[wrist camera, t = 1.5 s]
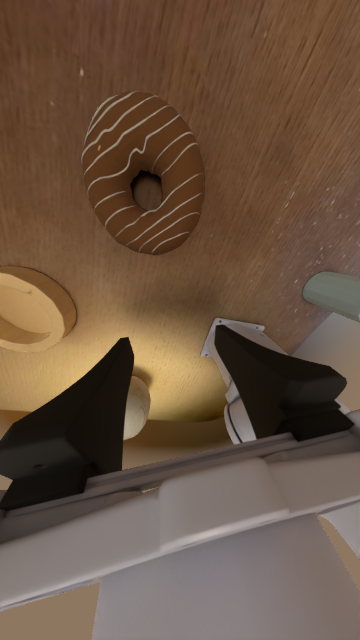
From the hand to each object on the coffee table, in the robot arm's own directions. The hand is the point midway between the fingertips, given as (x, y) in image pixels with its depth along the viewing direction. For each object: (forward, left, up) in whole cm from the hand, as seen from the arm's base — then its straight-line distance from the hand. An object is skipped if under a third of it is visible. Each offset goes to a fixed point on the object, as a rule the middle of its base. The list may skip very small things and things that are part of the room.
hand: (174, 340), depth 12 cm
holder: (+17, +4, -10) cm, 20 cm away
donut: (+4, -11, -10) cm, 15 cm away
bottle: (-23, -7, -10) cm, 26 cm away
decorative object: (+4, +17, -10) cm, 20 cm away
